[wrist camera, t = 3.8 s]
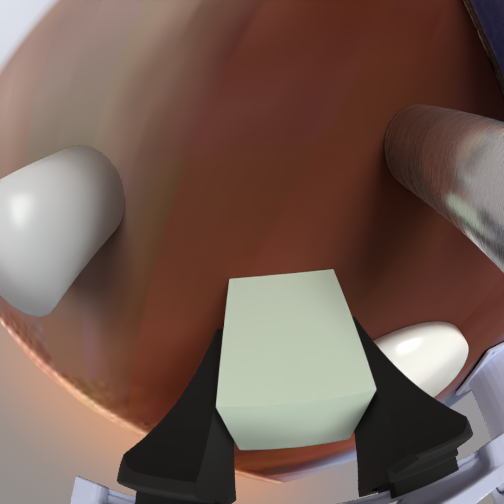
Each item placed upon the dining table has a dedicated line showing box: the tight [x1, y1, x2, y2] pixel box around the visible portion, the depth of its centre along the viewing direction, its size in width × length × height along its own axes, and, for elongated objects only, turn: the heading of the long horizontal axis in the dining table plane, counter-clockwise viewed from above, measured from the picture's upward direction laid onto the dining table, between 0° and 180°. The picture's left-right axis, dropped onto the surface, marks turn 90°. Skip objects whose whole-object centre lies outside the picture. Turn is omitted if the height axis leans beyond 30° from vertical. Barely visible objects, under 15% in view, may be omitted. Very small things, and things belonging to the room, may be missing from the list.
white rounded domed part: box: [0, 145, 125, 316], centre depth 7 cm, size 4×4×5 cm
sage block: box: [216, 269, 376, 450], centre depth 10 cm, size 4×4×6 cm
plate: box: [373, 321, 468, 397], centre depth 16 cm, size 13×13×1 cm
